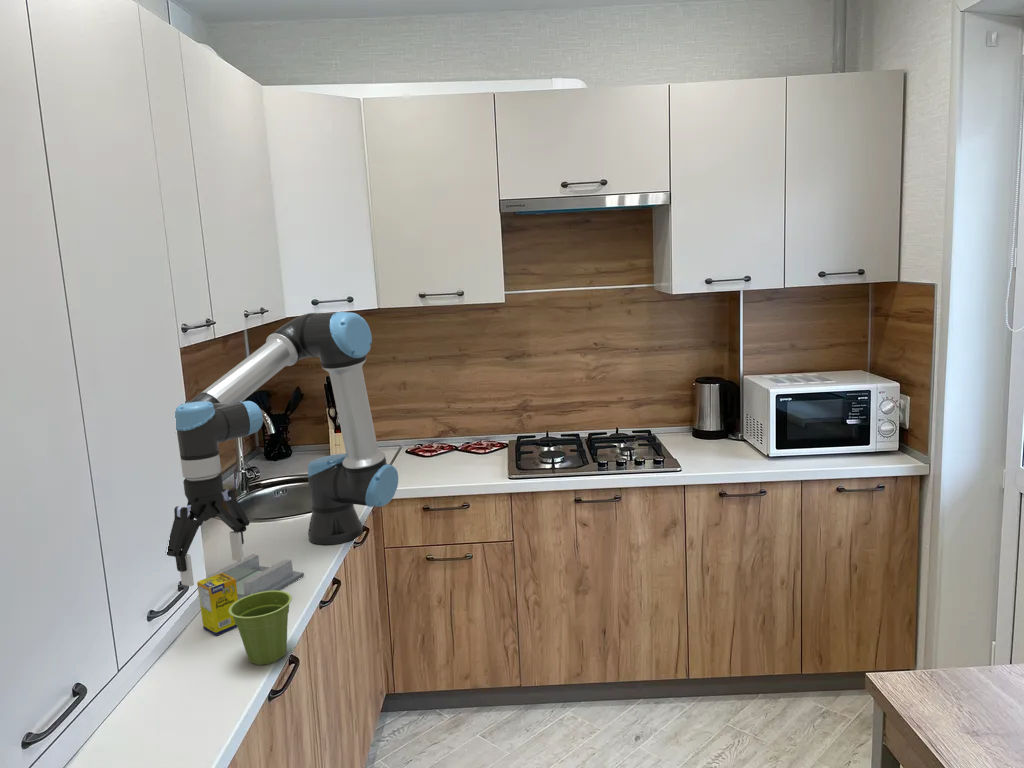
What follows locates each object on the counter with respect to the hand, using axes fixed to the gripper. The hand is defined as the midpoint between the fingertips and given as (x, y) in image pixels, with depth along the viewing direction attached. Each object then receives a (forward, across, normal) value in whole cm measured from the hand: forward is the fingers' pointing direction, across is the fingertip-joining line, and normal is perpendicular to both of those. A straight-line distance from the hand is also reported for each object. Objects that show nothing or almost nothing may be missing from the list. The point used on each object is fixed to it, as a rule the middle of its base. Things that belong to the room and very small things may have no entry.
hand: (214, 572), depth 159 cm
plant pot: (+13, +6, +19) cm, 23 cm away
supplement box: (+13, 0, 0) cm, 13 cm away
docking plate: (+12, -18, -9) cm, 24 cm away
